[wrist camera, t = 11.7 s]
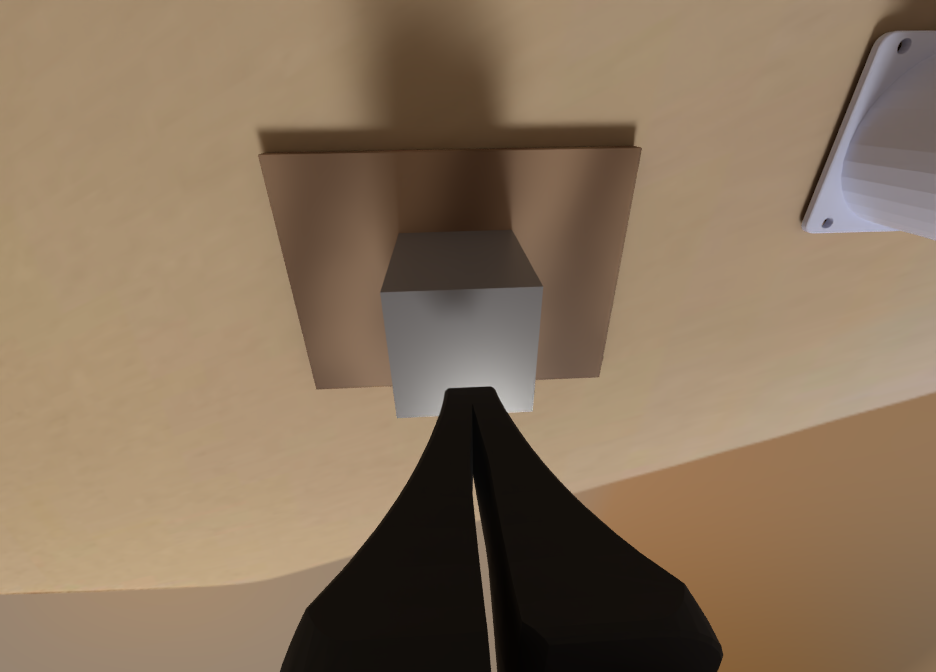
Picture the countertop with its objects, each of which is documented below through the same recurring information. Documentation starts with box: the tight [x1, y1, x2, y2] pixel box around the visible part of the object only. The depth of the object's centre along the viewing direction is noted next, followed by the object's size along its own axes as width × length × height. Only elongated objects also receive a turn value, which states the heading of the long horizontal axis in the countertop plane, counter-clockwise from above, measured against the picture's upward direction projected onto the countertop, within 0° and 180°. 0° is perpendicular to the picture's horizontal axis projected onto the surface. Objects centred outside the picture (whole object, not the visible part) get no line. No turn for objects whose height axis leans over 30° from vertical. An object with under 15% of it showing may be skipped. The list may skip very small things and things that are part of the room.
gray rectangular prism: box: [380, 230, 543, 418], centre depth 17 cm, size 5×5×7 cm
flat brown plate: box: [258, 146, 642, 389], centre depth 18 cm, size 16×12×6 cm
